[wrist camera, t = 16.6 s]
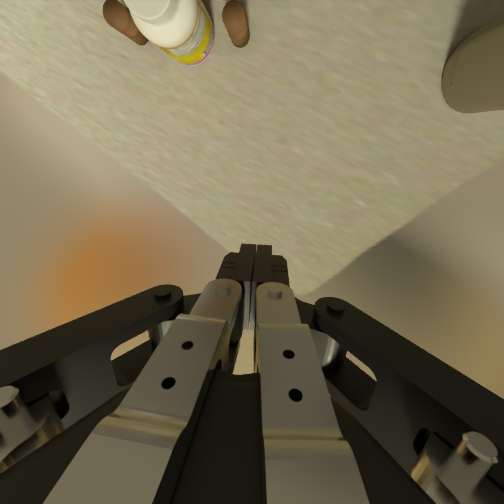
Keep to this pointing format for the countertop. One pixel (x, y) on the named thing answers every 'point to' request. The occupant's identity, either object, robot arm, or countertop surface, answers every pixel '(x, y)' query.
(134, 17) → the supplement bottle
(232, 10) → the dowel gate
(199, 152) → the countertop surface
